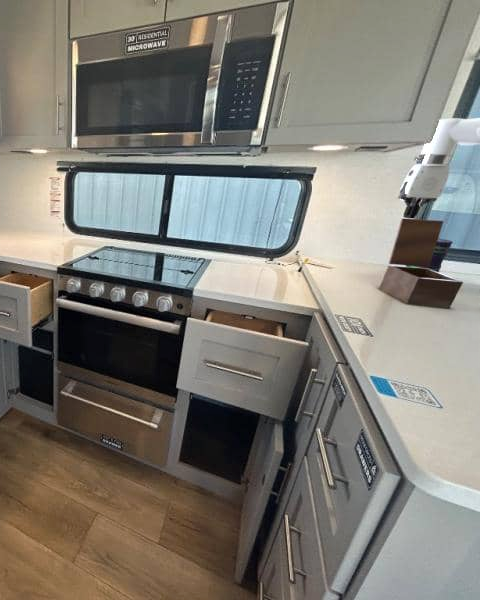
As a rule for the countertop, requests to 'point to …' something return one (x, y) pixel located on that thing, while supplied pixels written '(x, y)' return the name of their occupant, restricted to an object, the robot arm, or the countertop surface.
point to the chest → (420, 286)
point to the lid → (415, 242)
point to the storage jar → (438, 254)
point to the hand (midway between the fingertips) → (408, 217)
